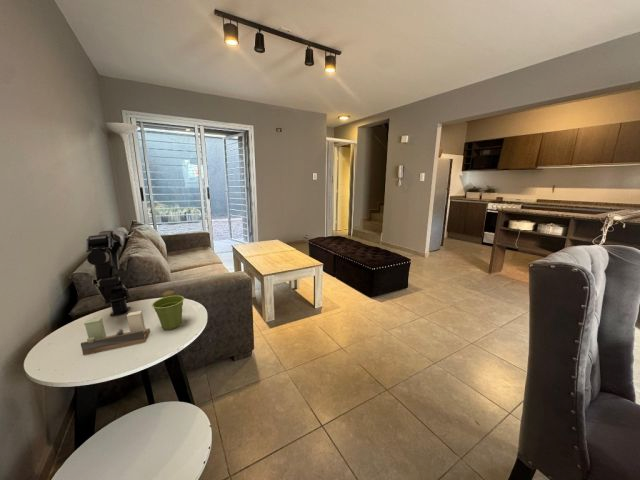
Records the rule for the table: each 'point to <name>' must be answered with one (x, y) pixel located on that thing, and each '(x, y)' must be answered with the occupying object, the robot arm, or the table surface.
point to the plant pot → (169, 311)
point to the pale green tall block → (95, 328)
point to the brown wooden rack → (114, 341)
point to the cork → (169, 293)
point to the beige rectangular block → (136, 321)
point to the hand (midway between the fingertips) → (107, 301)
